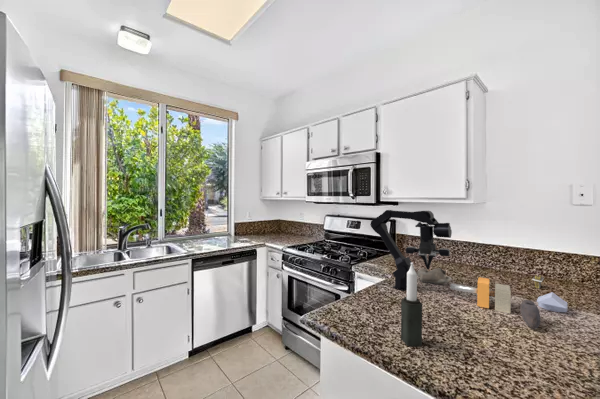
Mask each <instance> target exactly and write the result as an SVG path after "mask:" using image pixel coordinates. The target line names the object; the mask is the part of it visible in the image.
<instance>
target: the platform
mask: <svg viewBox="0 0 600 399" xmlns="http://www.w3.org/2000/svg"><path fill="white" fill-rule="evenodd" d="M537 275H538V274H537V273H536V274H535V276H533V277H532V281H534V287H535V288H537V289H539V290H540V289H541V287H542V282H543V281H544V277H543V276H542V275H541V274H540V275H539V276H537Z"/></svg>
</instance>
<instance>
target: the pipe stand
mask: <svg viewBox="0 0 600 399" xmlns="http://www.w3.org/2000/svg"><path fill="white" fill-rule="evenodd" d="M449 287H450V288H449V289H450V290H454V291H458V292H465V293H470V294H474V295H477V287H473V286H468V285H462V284H458V283H457V284H455V283H450V285H449ZM511 294H512V292H511V286H510V285H508V284H501V283H496V282H495V283H494V290H491V289H489V297H491V298H494V312H500V313H505V314H511V304H512V303H511V302H512V301H511V299H512V296H511ZM479 309H480V310H483V309H484V307H479Z"/></svg>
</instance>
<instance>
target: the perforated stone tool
mask: <svg viewBox="0 0 600 399" xmlns="http://www.w3.org/2000/svg"><path fill="white" fill-rule="evenodd" d="M538 308H539V307H538V305H537V304H536V303H535V302H534V301H532V300H528V299H524V300H522V301H521V303H520V306H519V310H520V315H521V317H522V319H523V321H524V323H525V324H526V326H528V327H529V328H530V329H534V330H537V329H538V328H539V327H540V325H541V314H540V311H539V310H540V309H538Z"/></svg>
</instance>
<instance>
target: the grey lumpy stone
mask: <svg viewBox="0 0 600 399" xmlns="http://www.w3.org/2000/svg"><path fill="white" fill-rule="evenodd" d="M416 273H417V277H418V278H419V280H420V282H422V283H430V284H434V285H435V284H436V285H444V284H451V282H452V280H453V279H452V277H451V276H449V275H447V272H446V270H445V269H442V268H441V267H437V268H434V269H432V270H428V269H427V268H425V267H421V268H419V269H418V270H417V271H416Z"/></svg>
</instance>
